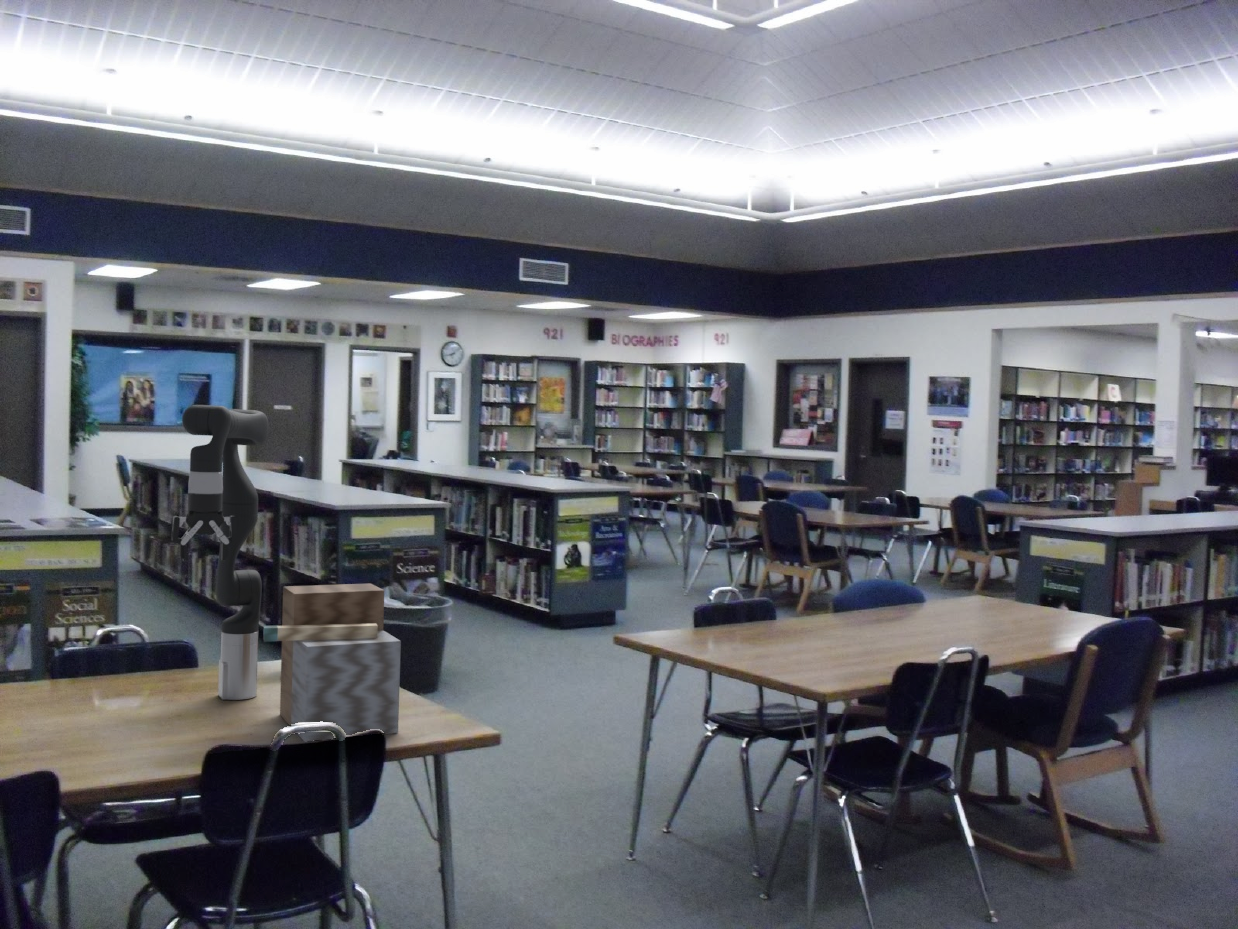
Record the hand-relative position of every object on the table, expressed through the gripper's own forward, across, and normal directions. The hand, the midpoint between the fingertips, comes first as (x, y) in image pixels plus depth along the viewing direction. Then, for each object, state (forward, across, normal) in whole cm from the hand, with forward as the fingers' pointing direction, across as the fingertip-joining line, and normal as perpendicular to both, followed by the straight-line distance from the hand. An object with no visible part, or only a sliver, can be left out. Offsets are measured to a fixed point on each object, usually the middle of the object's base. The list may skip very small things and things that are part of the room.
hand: (203, 560), depth 267 cm
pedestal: (+40, -31, +5) cm, 51 cm away
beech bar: (+18, -25, +9) cm, 32 cm away
